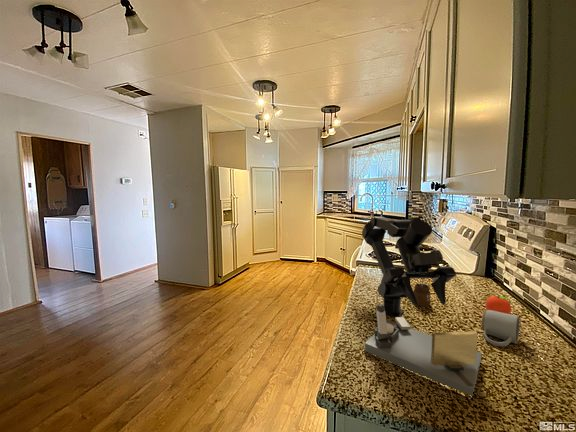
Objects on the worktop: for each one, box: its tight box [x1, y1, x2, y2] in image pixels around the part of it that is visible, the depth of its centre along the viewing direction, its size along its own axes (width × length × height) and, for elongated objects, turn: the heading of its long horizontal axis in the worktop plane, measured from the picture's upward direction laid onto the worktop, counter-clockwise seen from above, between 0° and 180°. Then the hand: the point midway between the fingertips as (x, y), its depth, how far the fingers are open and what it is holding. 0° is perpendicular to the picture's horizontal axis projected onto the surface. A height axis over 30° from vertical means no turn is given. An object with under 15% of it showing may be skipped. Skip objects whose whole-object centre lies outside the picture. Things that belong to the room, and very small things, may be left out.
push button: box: [387, 323, 394, 335], centre depth 72 cm, size 4×4×2 cm
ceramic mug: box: [480, 309, 521, 348], centre depth 74 cm, size 11×8×8 cm
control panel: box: [364, 320, 482, 397], centre depth 66 cm, size 16×24×4 cm
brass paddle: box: [431, 331, 478, 371], centre depth 58 cm, size 3×10×8 cm, turn 92°
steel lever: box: [375, 304, 390, 340], centre depth 68 cm, size 2×3×9 cm
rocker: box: [394, 316, 412, 330], centre depth 75 cm, size 4×3×1 cm, turn 2°
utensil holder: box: [413, 278, 431, 307], centre depth 97 cm, size 6×6×12 cm
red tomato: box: [485, 295, 512, 314], centre depth 87 cm, size 8×7×7 cm
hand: (430, 304), depth 67 cm, fingers open, 7 cm apart
